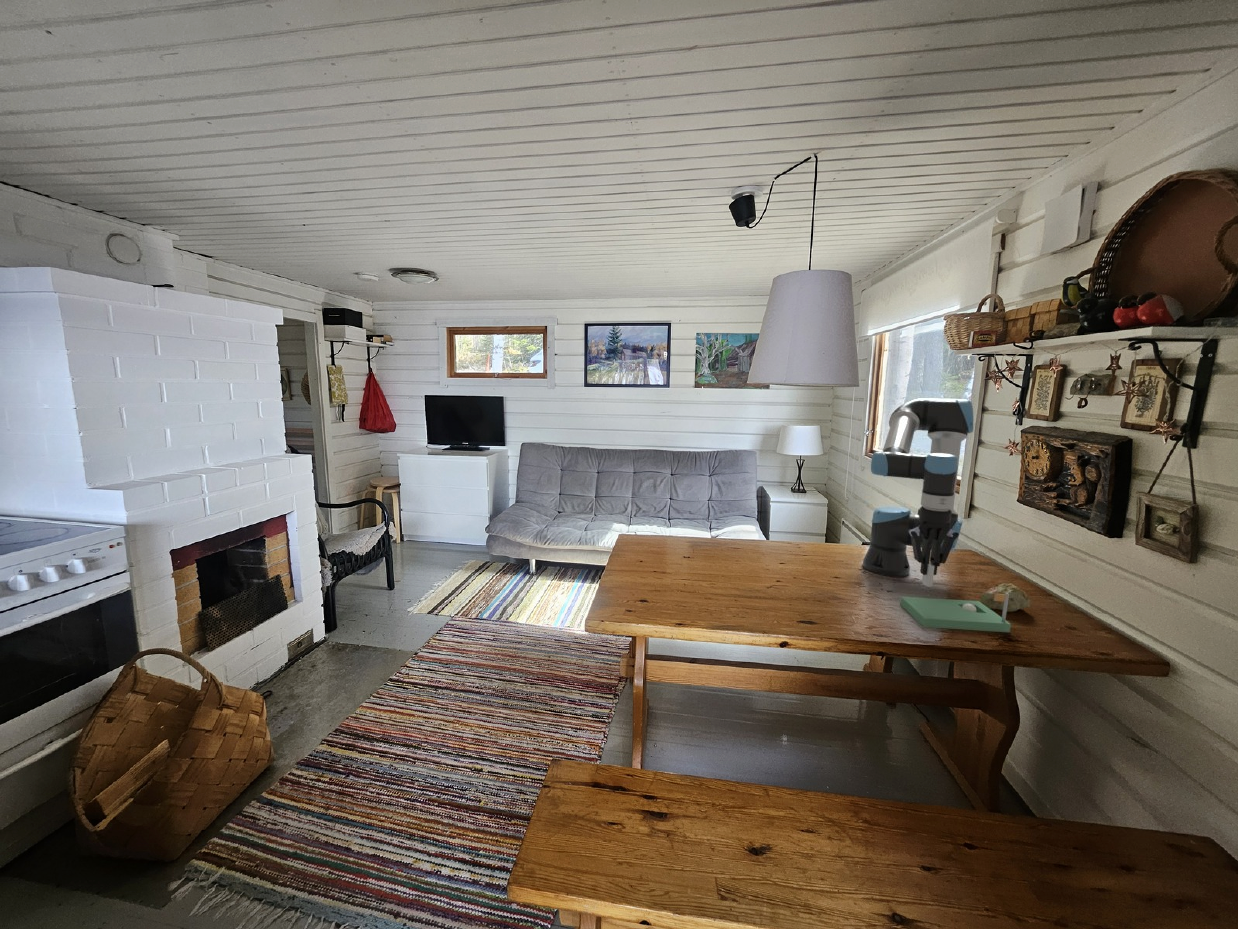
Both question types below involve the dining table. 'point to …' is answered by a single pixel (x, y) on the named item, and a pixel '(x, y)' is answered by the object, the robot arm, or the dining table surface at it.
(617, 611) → the dining table surface
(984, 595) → the rock
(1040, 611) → the dining table surface
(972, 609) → the ball
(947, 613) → the green
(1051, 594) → the dining table surface
